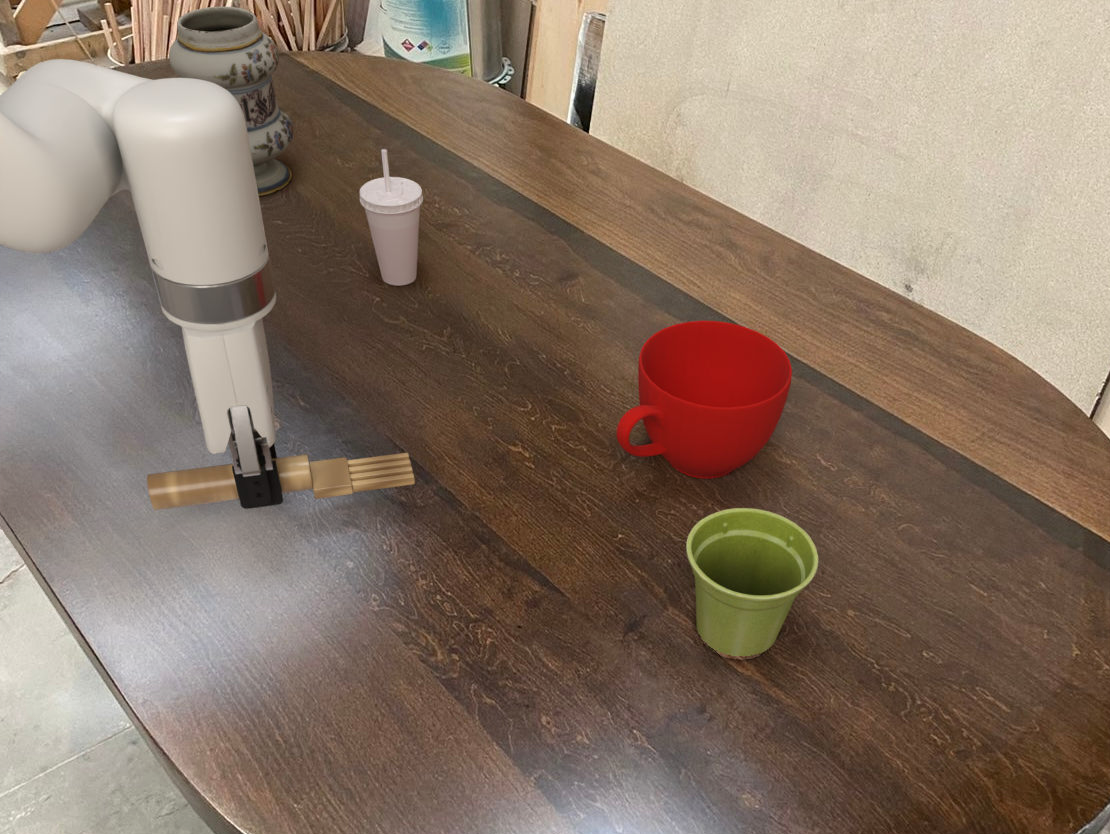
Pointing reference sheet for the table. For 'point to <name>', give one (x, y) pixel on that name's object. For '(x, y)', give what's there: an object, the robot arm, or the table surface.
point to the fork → (282, 479)
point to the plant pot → (747, 576)
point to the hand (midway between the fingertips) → (260, 488)
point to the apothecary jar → (239, 80)
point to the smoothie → (393, 224)
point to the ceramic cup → (707, 396)
